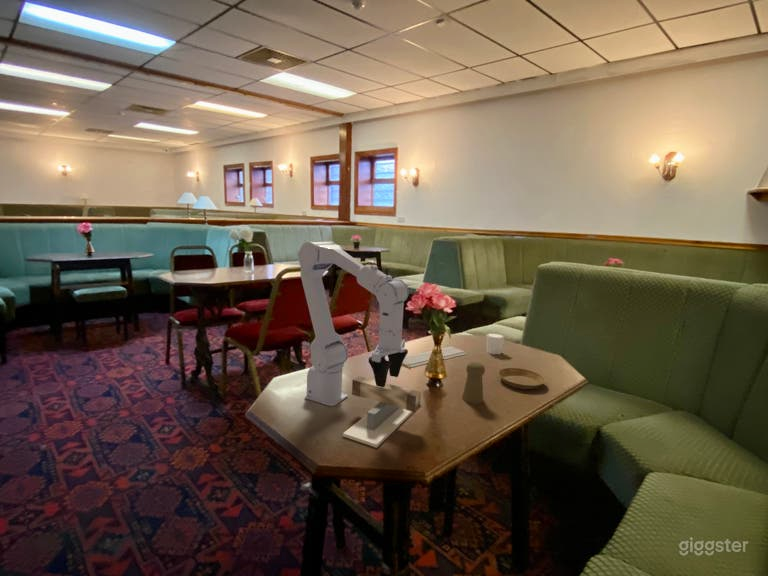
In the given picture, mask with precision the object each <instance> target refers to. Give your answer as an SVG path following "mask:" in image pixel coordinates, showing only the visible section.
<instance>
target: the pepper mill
mask: <svg viewBox="0 0 768 576" xmlns="http://www.w3.org/2000/svg"><path fill="white" fill-rule="evenodd" d="M485 370H486V369H485V365H483V363H480V362H476V361H472V362H469V363H468V364H467V365H466V373H467V375H466V380H465V383H464V388H463V393H462V397H461V399H462V400H463V401H464V402H466V403H467V404H472V405H479V404H483V402H484V389H483V375H484V374H485Z"/></svg>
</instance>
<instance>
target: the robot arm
mask: <svg viewBox="0 0 768 576" xmlns="http://www.w3.org/2000/svg"><path fill="white" fill-rule="evenodd" d="M297 257H298V258H297V259H298V262H299V266H300V279H301V282H302V283H301V284H302V287H303V290H304V295H305V299H306V303H307V307H308V311H309V315H310V320H311V323H312V328H313V331H314V336H315V337H314V339H313V341H312V342H311V344H310V345H309V348H310V362H311V366H310V368H309V369H308V372H307V375H306V395H305V396H304V398H305V399H307V400H309V401H313V402H316V403H319V404H323V405H326V406H329V407H334V406H335V405H337V404H338V403H340V402H342V401H343V400H345V399H346V398H348V394H346V393H344V392H343V390H342V389H343V370H344V369H343V368H344V367H345V363H347V361H348V359H349V355H350V352H349V349H348V347H347V345H346V344H345V342H344V339H343V337H342V336H341V334H338V333H337V332H336V331H335V326H334V322H333V318H332V315H331V311H330V306H329V303H328V299H327V294H326V290H325V286H324V283H323V276H324V274H325V272H326V271H327V270H328V269H329V268H331V266H333V264H334V265H336V266H338V267H339V268H341V269H343V270H344V271H345V272H348V273H350V274H351V275H353V276H355V278H356V282H357V284H358V285H360V286H361V287H363V288H364V289H366V290H367V291H369V292H370V293H371V294H373V295H374V296H375V298H376V300H377V302H378V304H379V306H378V307H379V308H378V309H379V324H378V326H379V327H378V342H377V345H376V348H375V350H374V351H373V352H372V353H371V356H369V357H368V364H369V365H370V367H371V370H372V372H373V376H374V380H375V382H376V386H380V387H385V384H386V383H387V380H388V379H387V378H388V373H389V377H394V378H398V377H399V375H400V372H401V369H402V366H403V365H402V363H403V360H404V358H405V356H408V354H409V353H408V352H409V350H408V349H406V348H405V346H406V345H405V344H406V339H402V338H403V337H402V336H403V335H402V334H403V320H404V306H405V305H404V304H405V301H406V300H407V299H408V297H409V293H410V291H409V287H408V284H406V283H405V282H404V281H403V280H402V279H398V278H397V279H393V276H391V275H389V274H388V275H387V274H385V272H382V271H381V270H379V269H378V268H379V267H378V266H377V265H376V264H366V265H364V264H362V263H361V262H360V261H358V260H357V259H355V258H354V257H353V256H352V255H350V254H349V253H347V252H346V251H345V250H344V249H342V247H341V245H339V244H336V243H335V242H334V241H332V240H328V241H305V242H303V244H301V246H300V248H299V250H298V252H297ZM386 357H388V360H387V359H386Z"/></svg>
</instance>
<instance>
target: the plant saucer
mask: <svg viewBox="0 0 768 576" xmlns="http://www.w3.org/2000/svg"><path fill="white" fill-rule="evenodd" d="M497 375H498V376H499V377H500V379H501V380H502V381H503V382H504V384H506V385H507V384H508V385H507V386H509V385H510V387H511V386H512V388H514V387H515V389H518V388H520V389H519V390H525V389H531V390H535V388H536V389H538V388H540V387H541V386H543V385H544V384H545V382H546V379H545V377H544V376H543V375H541V374H540V373H537V372H535V371H532V370H530V369H525V368H521V367H505V368H502V369H500V370H498V373H497ZM508 376H509V377H508ZM511 376H512V377H511ZM513 376H514V377H515V376H523V377H528V378H532V379H534V380H535V381H537V382H538V383H539V384H538V385H524V384H518V383H514V381H513V380H506V379H507V378H514V377H513ZM505 378H506V379H505Z"/></svg>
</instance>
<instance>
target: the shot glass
mask: <svg viewBox="0 0 768 576" xmlns="http://www.w3.org/2000/svg"><path fill="white" fill-rule="evenodd" d="M504 340H505V336H504V335H503V334H499V333H495V332H494V333H491V332H490V333H486V352H487V353H488V354H491V355H495V354H498V355H501V354H502V349H503V344H504Z"/></svg>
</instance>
